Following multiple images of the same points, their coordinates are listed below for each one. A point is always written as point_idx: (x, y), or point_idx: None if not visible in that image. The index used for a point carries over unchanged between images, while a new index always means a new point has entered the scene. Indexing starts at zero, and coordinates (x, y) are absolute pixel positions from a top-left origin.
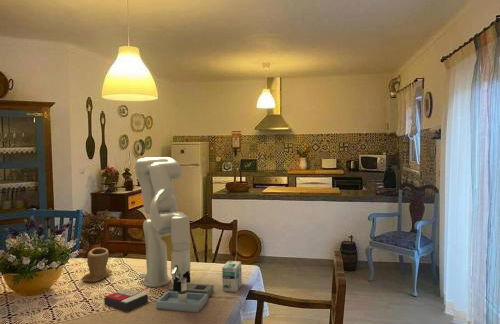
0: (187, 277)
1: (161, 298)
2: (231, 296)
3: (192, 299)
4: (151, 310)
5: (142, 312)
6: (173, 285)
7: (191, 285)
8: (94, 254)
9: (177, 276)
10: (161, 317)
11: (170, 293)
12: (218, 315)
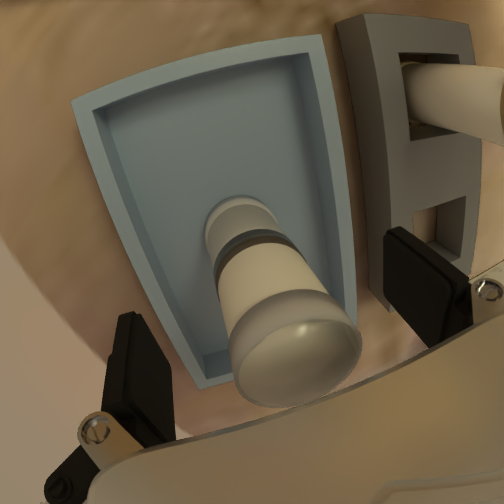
0: (413, 312)
1: (145, 89)
2: (401, 351)
3: (314, 250)
4: (53, 90)
5: (8, 67)
6: (113, 360)
7: (458, 161)
8: None
9: (486, 82)
10: (23, 235)
11: (307, 68)
12: (213, 419)
